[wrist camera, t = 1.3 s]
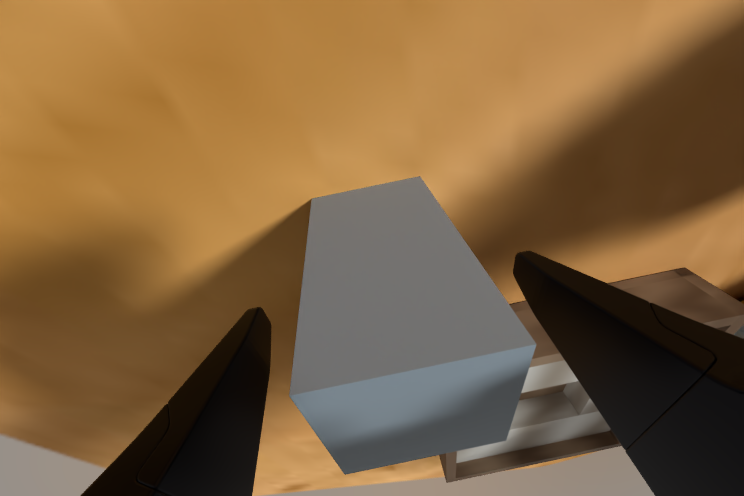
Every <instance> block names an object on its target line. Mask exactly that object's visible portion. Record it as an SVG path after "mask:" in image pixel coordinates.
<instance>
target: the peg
mask: <svg viewBox="0 0 744 496" xmlns="http://www.w3.org/2000/svg"><path fill="white" fill-rule="evenodd" d="M535 348H536V343H535V341H534V340H533V338H532V337H531V335H530V334H529V333H528V331H527V330H526V328H525V327H524V325H523V324H522V322H521V321H520V320H519V318H518V317H517V315H516V314H515V312H514V311H513V310H512V308H511V307H510V305H509V304H508V302H507V301H506V299H505V298H504V297H503V295H502V294H501V292H500V291H499V289H498V288H497V287H496V285H495V284H494V282H493V281H492V279H491V278H490V276H489V275H488V274H487V272H486V271H485V269H484V268H483V266H482V265H481V263H480V262H479V261H478V259H477V258H476V256H475V255H474V253H473V252H472V251H471V249H470V248H469V246H468V245H467V243H466V242H465V240H464V239H463V238H462V236H461V235H460V233H459V232H458V230H457V229H456V227H455V226H454V225H453V223H452V222H451V220H450V219H449V217H448V216H447V215H446V213H445V212H444V210H443V209H442V207H441V206H440V204H439V203H438V202H437V200H436V199H435V197H434V196H433V194H432V193H431V191H430V190H429V189H428V187H427V186H426V184H425V183H424V181H423V180H422V179H421V177H420V176H419V177H414V178H409V179H404V180H399V181H395V182H390V183H385V184H380V185H375V186H371V187H366V188H361V189H356V190H351V191H346V192H342V193H337V194H332V195H327V196H322V197H318V198H313V199H312V201H311V210H310V218H309V227H308V236H307V245H306V253H305V262H304V271H303V280H302V289H301V297H300V306H299V315H298V324H297V333H296V341H295V350H294V359H293V368H292V377H291V385H290V394H289V396H290V398H291V399H292V400H293V402H294V403H295V405H296V406H297V408H298V409H299V410H300V412H301V413H302V415H303V416H304V417H305V419H306V420H307V422H308V423H309V425H310V426H311V427H312V429H313V430H314V432H315V433H316V434H317V436H318V437H319V439H320V440H321V442H322V443H323V444H324V446H325V447H326V449H327V450H328V451H329V453H330V454H331V456H332V457H333V459H334V460H335V461H336V463H337V464H338V466H339V467H340V468H341V470H342V471H343V473H344V474H350V473H355V472H360V471H364V470H369V469H374V468H379V467H383V466H388V465H393V464H398V463H403V462H407V461H412V460H417V459H422V458H426V457H431V456H436V455H441V454H445V453H450V452H455V451H460V450H464V449H469V448H474V447H479V446H483V445H488V444H493V443H498V442H502V441H506V440H507V436H508V433H509V430H510V427H511V424H512V421H513V417H514V414H515V411H516V408H517V405H518V402H519V398H520V395H521V392H522V389H523V386H524V383H525V379H526V376H527V373H528V370H529V367H530V363H531V360H532V357H533V354H534V351H535Z"/></svg>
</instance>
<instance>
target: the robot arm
mask: <svg viewBox="0 0 744 496" xmlns="http://www.w3.org/2000/svg"><path fill="white" fill-rule="evenodd" d="M513 274H514V277H515V279H516V281H517V283H518V285H519V287H520V289H521V291H522V293H523V295H524V297H525V299H526V300H527V302H528V304H529V306H530V308H531V310H532V312H533V314H534V315H535V317H536V318H537V320H538V321H539V323H540V324H541V326H542V327H543V329H544V330H545V332H546V333H547V335H548V336H549V338H550V339H551V341H552V342H553V344H554V345H555V347H556V348H557V350H558V351H559V353H560V354H561V356H562V357H563V359H564V360H565V362H566V363H567V365H568V366H569V368H570V369H571V371H572V372H573V374H574V375H575V377H576V378H577V379H578V381H579V382H580V384H581V385H582V387H583V388H584V390H585V391H586V393H587V394H588V396H589V397H590V399H591V400H592V402H593V403H594V405H595V406H596V408H597V409H598V411H599V412H600V414H601V415H602V417H603V418H604V420H605V421H606V423H607V424H608V426H609V427H610V429H611V430H612V432H613V433H614V435H615V436H616V438H617V439H618V441H619V442H620V444H621V445H622V447H623V448H624V449H625V450H626V453H627V454H628V456H629V457H630V459H631V460H632V462H633V463H634V465H635V466H636V468H637V469H638V471H639V472H640V474H641V475H642V477H643V478H644V480H645V481H646V483H647V484H648V486H649V487H650V489H651V490H652V492H653V493H654V495H655V496H744V339H743V338H741V337H738V336H735V335H733V334H730V333H727V332H724V331H722V330H719V329H716V328H714V327H711V326H708V325H706V324H703V323H700V322H698V321H695V320H693V319H690V318H688V317H685V316H683V315H680V314H678V313H675V312H673V311H671V310H668V309H666V308H663V307H661V306H659V305H656V304H654V303H649V302H648V301H647V300H644V299H642V298H640V297H637V296H635V295H633V294H630V293H628V292H626V291H623V290H621V289H619V288H616V287H614V286H612V285H609V284H607V283H605V282H602V281H600V280H598V279H595V278H593V277H591V276H588V275H586V274H583V273H581V272H579V271H576V270H574V269H572V268H569V267H567V266H565V265H562V264H560V263H558V262H555V261H553V260H551V259H548V258H546V257H544V256H541V255H539V254H537V253H534V252H532V251H524V252H519V253H517V254H516V257H515V262H514V268H513ZM270 359H271V323H270V321H269V319H268V317H267V316H266V314H265V312H264V311H263V309H262V308H261V307H256V308H251V309H248V310H247V311H246V312H245V313H244V315H243V316H242V317H241V318H240V319H239V320H238V322H237V323H236V324H235V325H234V326H233V327H232V328H231V330H230V331H229V332H228V333H227V334H226V335H225V337H224V338H223V339H222V340H221V341H220V342H219V344H218V345H217V346H216V347H215V348H214V349H213V350H212V352H211V353H210V354H209V355H208V356H207V357H206V359H205V360H204V361H203V362H202V363H201V364H200V366H199V367H198V368H197V369H196V370H195V371H194V372H193V374H192V375H191V376H190V377H189V378H188V379H187V381H186V382H185V383H184V384H183V385H182V386H181V387H180V389H179V390H178V391H177V392H176V393H175V394H174V396H173V397H172V398H171V399H170V400H169V401H168V404H166V405H165V406H164V407H163V408H162V409H161V410H160V412H159V413H158V414H157V415H156V416H155V417H154V419H153V420H152V421H151V422H150V423H149V424H148V425H147V426H146V427H145V429H144V430H143V431H142V432H141V433H140V434H139V435H138V436H137V437H136V438H135V440H134V441H133V442H132V443H131V444H130V445H129V446H128V447H127V448H126V449H125V450H124V451H123V452H122V453H121V454H120V455H119V456H118V457H117V459H116V460H115V461H114V462H113V463H112V464H111V465H110V466H109V467H108V468H107V469H106V470H105V471H104V472H103V473H102V474H101V475H100V476H99V477H98V478H97V479H96V480H95V481H94V482H93V484H91V485H90V486H89V487H88V488H87V489H86V491H85V492H84V493H83V494H82V495H81V496H252V492H253V485H254V478H255V471H256V465H257V458H258V451H259V444H260V437H261V430H262V423H263V416H264V409H265V402H266V395H267V388H268V381H269V374H270Z"/></svg>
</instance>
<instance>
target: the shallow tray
mask: <svg viewBox="0 0 744 496" xmlns="http://www.w3.org/2000/svg"><path fill="white" fill-rule="evenodd" d="M609 285H612V286H614V287H616V288H619V289H621V290H623V291H626V292H628V293H630V294H633V295H635V296H637V297H640V298H642V299H644V300H647V301H648V302H649V303H654V304H656V305H659V306H661V307H663V308H666V309H668V310H671V311H673V312H675V313H678V314H680V315H683V316H685V317H688V318H690V319H693V320H695V321H698V322H700V323H703V324H706V325H708V326H711V327H714V328H716V329H719V330H722V331H724V332H727V333H730V334H733V335H734V334H735V333H736V332H737V331H738V330H739V329H740V328H741V327H742V326H743V325H744V304H743V303H741V302H739V301H738V300H736V299H735V298H733V297H731V296H730V295H728V294H727V293H725V292H723V291H722V290H720V289H719V288H717V287H715V286H714V285H712V284H711V283H709V282H707V281H706V280H704V279H702V278H701V277H699V276H698V275H696V274H694V273H693V272H691V271H690V270H688V269H686V268H681V269H676V270H672V271H667V272H662V273H657V274H652V275H648V276H643V277H638V278H633V279H629V280H624V281H619V282H614V283H609ZM509 305H510V307H511V308H512V310H513V311H514V312H515V314H516V315H517V317H518V318H519V320H520V321H521V322H522V324H523V325H524V327H525V328H526V330H527V331H528V333H529V334H530V335H531V337H532V338H533V340H534V341H535V343H536V348H535V351H534V354H533V357H532V360H531V363H530V367H529V370H528V373H527V376H526V379H525V383H524V386H523V389H522V392H521V395H520V398H519V402H518V405H517V408H516V411H515V414H514V417H513V421H512V424H511V427H510V430H509V433H508V436H507V440H506V441H502V442H498V443H493V444H488V445H483V446H479V447H474V448H469V449H464V450H460V451H455V452H450V453H445V454H441V455H439V456H440V460H441V464H442V467H443V471H444V475H445V479H446V482H447V483H448V482H453V481H457V480H462V479H467V478H471V477H476V476H481V475H486V474H491V473H495V472H500V471H505V470H510V469H514V468H519V467H524V466H528V465H533V464H538V463H543V462H547V461H552V460H557V459H562V458H566V457H571V456H576V455H580V454H585V453H590V452H595V451H599V450H604V449H609V448H613V447H618V446H622V445H621V444H620V442H619V441H618V439H617V438H616V436H615V435H614V433H613V432H612V430H611V429H610V427H609V426H608V424H607V423H606V421H605V420H604V418H603V417H602V415H601V414H600V412H599V411H598V409H597V408H596V406H595V405H594V403H593V402H592V400H591V399H590V397H589V396H588V394H587V393H586V391H585V390H584V388H583V387H582V385H581V384H580V382H579V381H578V379H577V378H576V377H575V375H574V374H573V372H572V371H571V369H570V368H569V366H568V365H567V363H566V362H565V360H564V359H563V357H562V356H561V354H560V353H559V351H558V350H557V348H556V347H555V345H554V344H553V342H552V341H551V339H550V338H549V336H548V335H547V333H546V332H545V330H544V329H543V327H542V326H541V324H540V323H539V321H538V320H537V318H536V317H535V315H534V314H533V312H532V310H531V308H530V306H529V304H528V302H527V301H524V302H519V303H514V304H509Z"/></svg>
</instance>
